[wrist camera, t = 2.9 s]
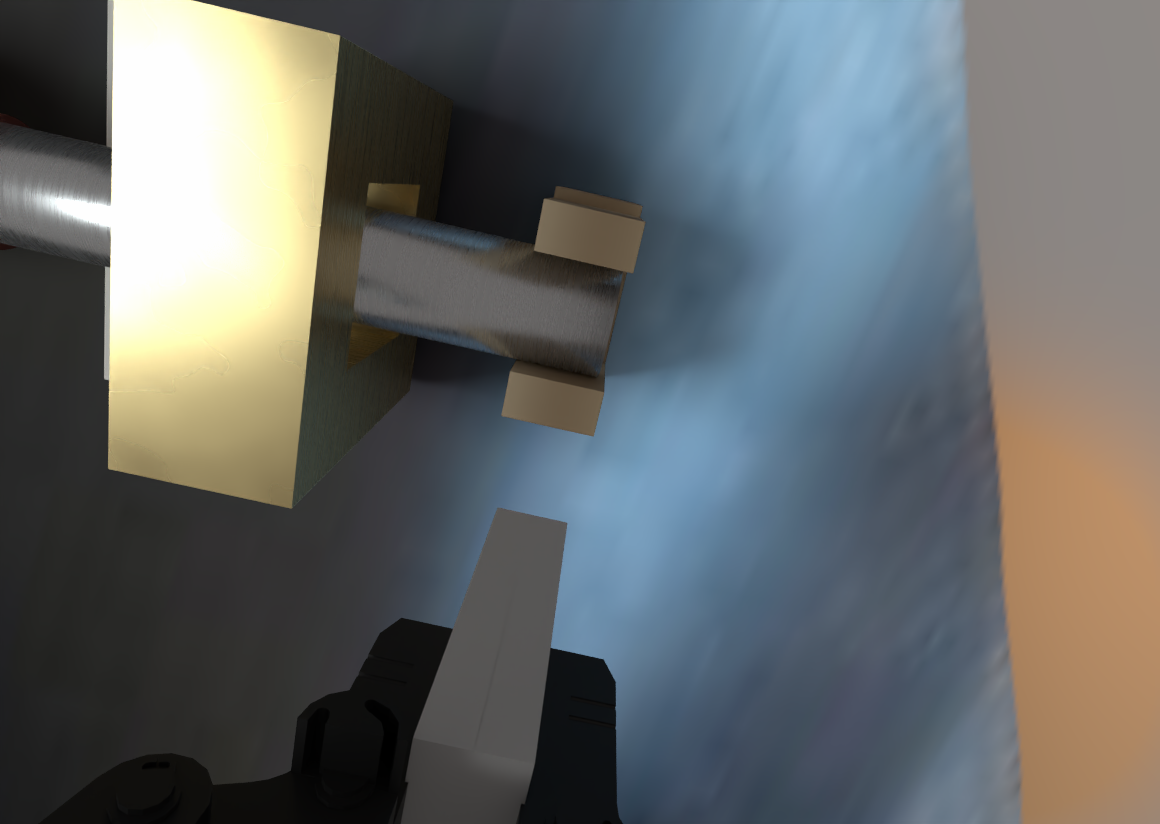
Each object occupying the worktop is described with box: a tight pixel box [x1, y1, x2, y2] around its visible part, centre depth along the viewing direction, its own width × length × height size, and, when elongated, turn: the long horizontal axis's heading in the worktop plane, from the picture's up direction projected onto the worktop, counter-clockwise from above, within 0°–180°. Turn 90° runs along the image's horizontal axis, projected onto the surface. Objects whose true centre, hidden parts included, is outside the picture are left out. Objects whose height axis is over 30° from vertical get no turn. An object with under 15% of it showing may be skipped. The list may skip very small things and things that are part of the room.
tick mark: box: [104, 0, 114, 380], centre depth 23 cm, size 1×14×1 cm, turn 168°
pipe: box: [0, 113, 623, 377], centre depth 18 cm, size 24×3×3 cm, turn 78°
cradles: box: [501, 186, 645, 436], centre depth 20 cm, size 24×6×7 cm, turn 78°
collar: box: [108, 0, 453, 508], centre depth 18 cm, size 4×9×9 cm, turn 168°
